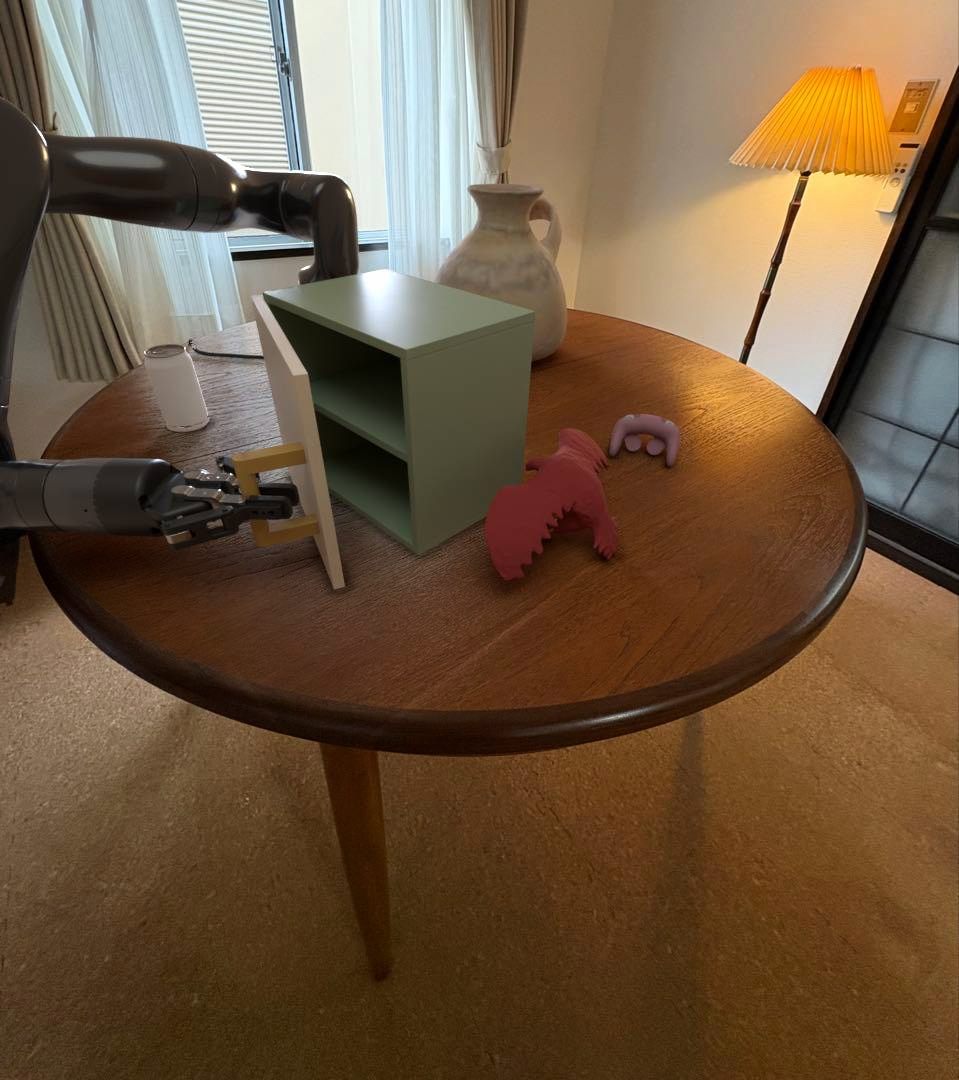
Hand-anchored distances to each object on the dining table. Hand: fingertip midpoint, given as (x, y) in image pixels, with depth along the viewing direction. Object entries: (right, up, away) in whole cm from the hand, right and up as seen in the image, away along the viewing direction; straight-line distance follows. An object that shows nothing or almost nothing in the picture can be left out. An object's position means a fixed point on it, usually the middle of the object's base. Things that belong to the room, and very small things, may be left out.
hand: (293, 501), depth 54 cm
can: (-29, +15, +36) cm, 49 cm away
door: (-5, -2, +14) cm, 16 cm away
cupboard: (+8, +4, +23) cm, 25 cm away
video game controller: (+43, +9, +31) cm, 54 cm away
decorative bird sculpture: (+29, -4, +14) cm, 32 cm away
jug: (+23, +37, +67) cm, 80 cm away
